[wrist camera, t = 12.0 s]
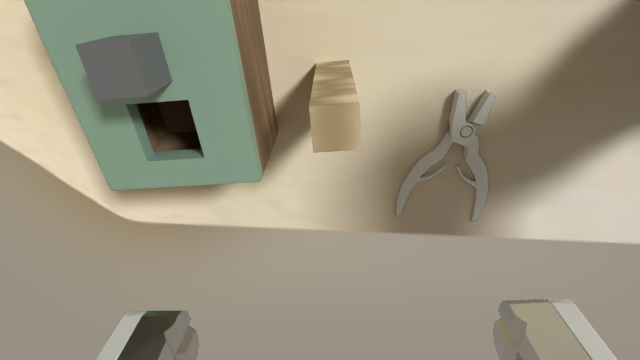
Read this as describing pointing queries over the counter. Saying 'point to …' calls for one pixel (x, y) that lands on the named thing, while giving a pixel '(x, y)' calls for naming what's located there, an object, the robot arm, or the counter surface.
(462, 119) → the pliers
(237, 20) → the toolbox
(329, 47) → the counter surface
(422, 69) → the counter surface
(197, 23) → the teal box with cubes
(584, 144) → the counter surface
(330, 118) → the wooden block
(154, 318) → the robot arm
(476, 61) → the counter surface
